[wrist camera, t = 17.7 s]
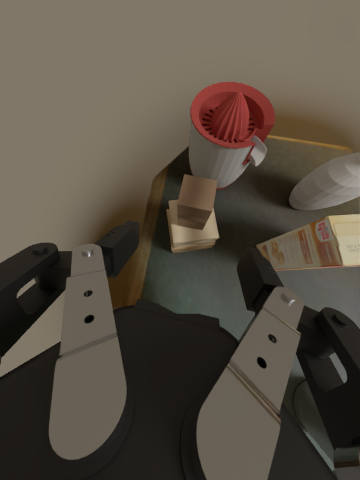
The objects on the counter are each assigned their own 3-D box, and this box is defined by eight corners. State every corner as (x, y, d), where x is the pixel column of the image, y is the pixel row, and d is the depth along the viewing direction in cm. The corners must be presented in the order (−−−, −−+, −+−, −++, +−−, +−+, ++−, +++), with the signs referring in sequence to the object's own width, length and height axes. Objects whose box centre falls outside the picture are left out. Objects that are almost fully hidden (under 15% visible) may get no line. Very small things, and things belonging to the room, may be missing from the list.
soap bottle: (282, 219, 41) (451, 127, 16) (276, 190, 43) (415, 66, 18) (334, 217, 41) (583, 123, 16) (325, 188, 43) (532, 64, 18)
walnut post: (206, 207, 31) (217, 180, 22) (202, 230, 30) (212, 211, 21) (182, 203, 31) (184, 174, 22) (177, 225, 30) (177, 204, 21)
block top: (206, 206, 36) (211, 196, 32) (213, 243, 34) (219, 237, 29) (169, 211, 36) (168, 200, 31) (174, 247, 34) (173, 242, 29)
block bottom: (203, 212, 41) (207, 204, 37) (210, 248, 39) (215, 244, 34) (167, 217, 41) (166, 209, 36) (172, 253, 39) (171, 250, 34)
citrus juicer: (221, 211, 41) (260, 154, 22) (174, 175, 44) (172, 94, 24) (254, 175, 44) (314, 95, 25) (208, 142, 47) (230, 47, 27)
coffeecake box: (260, 271, 38) (343, 267, 19) (255, 244, 39) (326, 213, 20) (318, 268, 38) (459, 260, 19) (311, 240, 40) (433, 208, 21)
